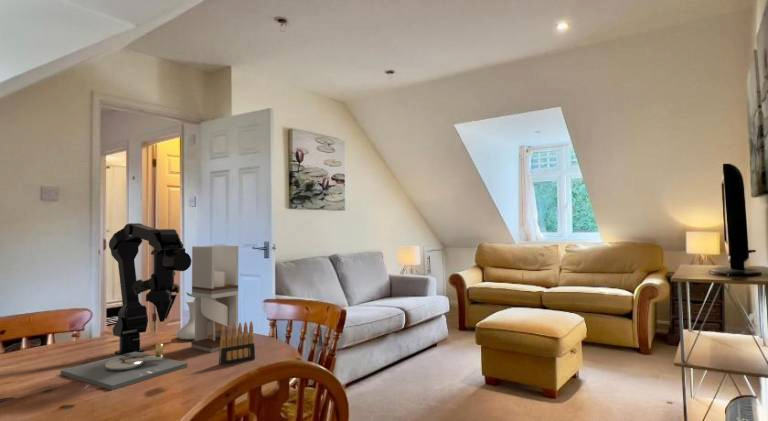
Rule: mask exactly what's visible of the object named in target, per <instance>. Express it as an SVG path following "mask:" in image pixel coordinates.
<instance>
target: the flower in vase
mask: <svg viewBox="0 0 768 421" xmlns="http://www.w3.org/2000/svg"><path fill="white" fill-rule="evenodd" d="M186 295H187V296H189V297H191V298H195V296H192V293H189V292H186ZM185 303H186V305H187V306H188V310H189V318H188V322H187V323H186V324H184V325H183V326H182V327H181V328H180V329H179V330H178V331H177V332H176V334H175V335H176V337H177V338H178V339H181V340H195V299H191V300H185Z"/></svg>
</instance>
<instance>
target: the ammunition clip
mask: <svg viewBox="0 0 768 421" xmlns="http://www.w3.org/2000/svg"><path fill="white" fill-rule="evenodd" d="M255 348H256V347H255V333H254V324H253V321H252V320H251V321H250V323H249V328H248V323H247V321H245V322H244V325H243V327H242V323H241V322H238V336H237V332H236V325H235V323H234V325H233V330H232V338H231V328H230V325H229V324H228V327H227V336H226V337H225V328H224V325H222V328H221V338H220V350H219V353H218V354H219V356H218V357H219V358H218V360H219V361H218V365H219V366H227V365H232V364H237V363H243V362H248V361H253V360H255V359H256V353H255V352H256V351H255V350H256V349H255Z"/></svg>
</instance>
